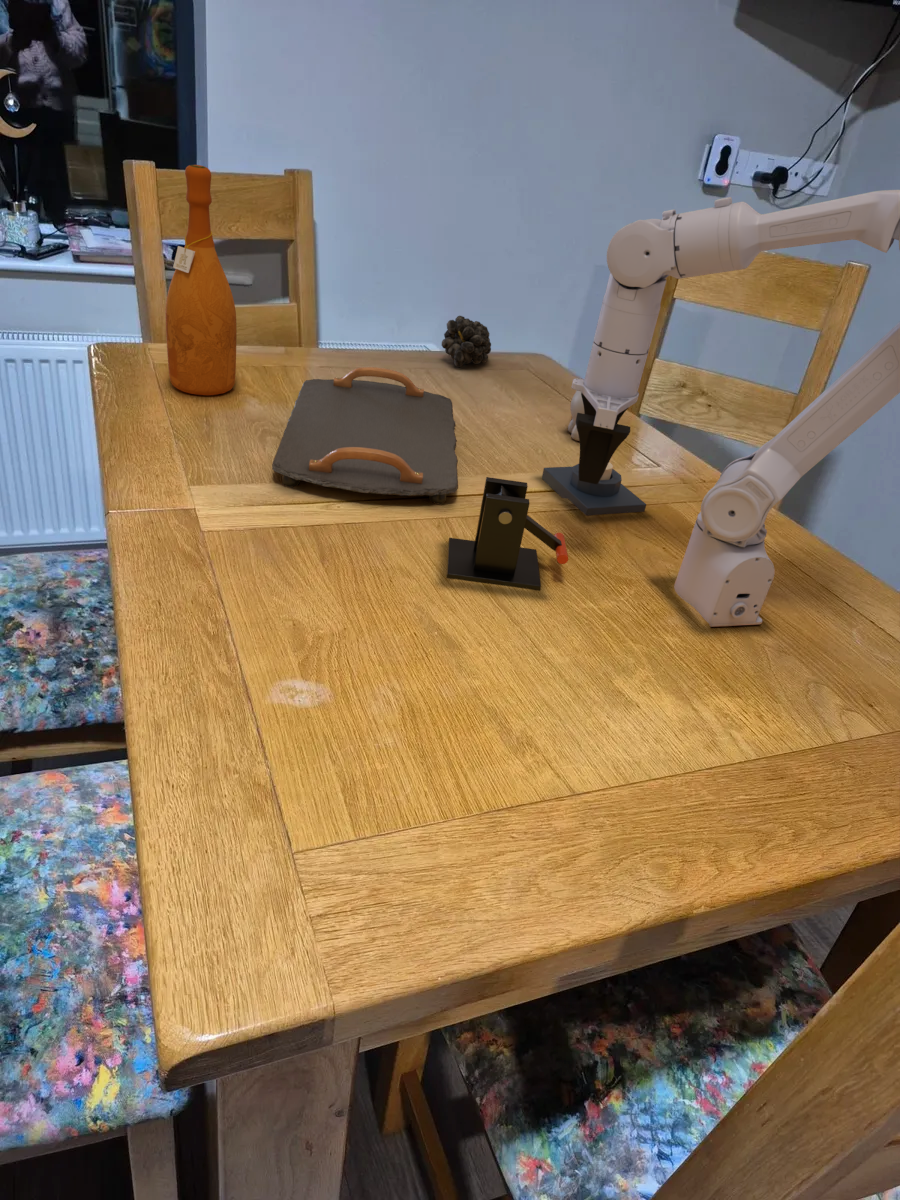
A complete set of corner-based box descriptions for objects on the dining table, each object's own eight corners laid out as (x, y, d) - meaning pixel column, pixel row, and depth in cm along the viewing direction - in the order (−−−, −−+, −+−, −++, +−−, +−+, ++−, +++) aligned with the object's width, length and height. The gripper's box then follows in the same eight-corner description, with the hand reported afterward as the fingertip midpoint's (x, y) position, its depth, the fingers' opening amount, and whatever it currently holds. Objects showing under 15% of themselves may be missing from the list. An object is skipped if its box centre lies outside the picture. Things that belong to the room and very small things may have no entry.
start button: (615, 481, 109) (618, 468, 108) (591, 482, 108) (594, 469, 107) (600, 469, 112) (604, 457, 111) (578, 470, 110) (581, 458, 109)
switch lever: (555, 547, 92) (570, 532, 91) (559, 570, 88) (574, 555, 87) (486, 495, 89) (501, 479, 88) (487, 516, 85) (502, 499, 84)
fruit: (518, 342, 157) (484, 332, 144) (495, 379, 161) (459, 374, 147) (485, 317, 159) (448, 305, 146) (462, 354, 163) (424, 346, 150)
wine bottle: (167, 374, 127) (157, 155, 111) (233, 376, 131) (233, 164, 114) (169, 397, 120) (159, 166, 104) (239, 399, 123) (240, 175, 107)
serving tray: (304, 390, 130) (306, 350, 127) (451, 408, 132) (456, 370, 129) (264, 499, 97) (265, 450, 94) (458, 522, 100) (466, 475, 96)
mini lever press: (534, 558, 95) (552, 480, 89) (538, 595, 88) (558, 513, 83) (447, 546, 94) (460, 467, 89) (445, 583, 87) (459, 499, 82)
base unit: (643, 515, 109) (650, 491, 107) (584, 520, 105) (591, 495, 103) (596, 476, 118) (602, 453, 116) (541, 478, 114) (546, 455, 112)
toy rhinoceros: (600, 420, 138) (612, 370, 133) (613, 449, 127) (627, 395, 123) (557, 415, 137) (568, 364, 132) (567, 443, 127) (579, 389, 122)
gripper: (586, 322, 91) (560, 438, 99) (577, 357, 79) (548, 485, 87) (649, 335, 91) (618, 450, 98) (650, 371, 79) (615, 500, 86)
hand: (590, 468), depth 92 cm, fingers open, 7 cm apart
